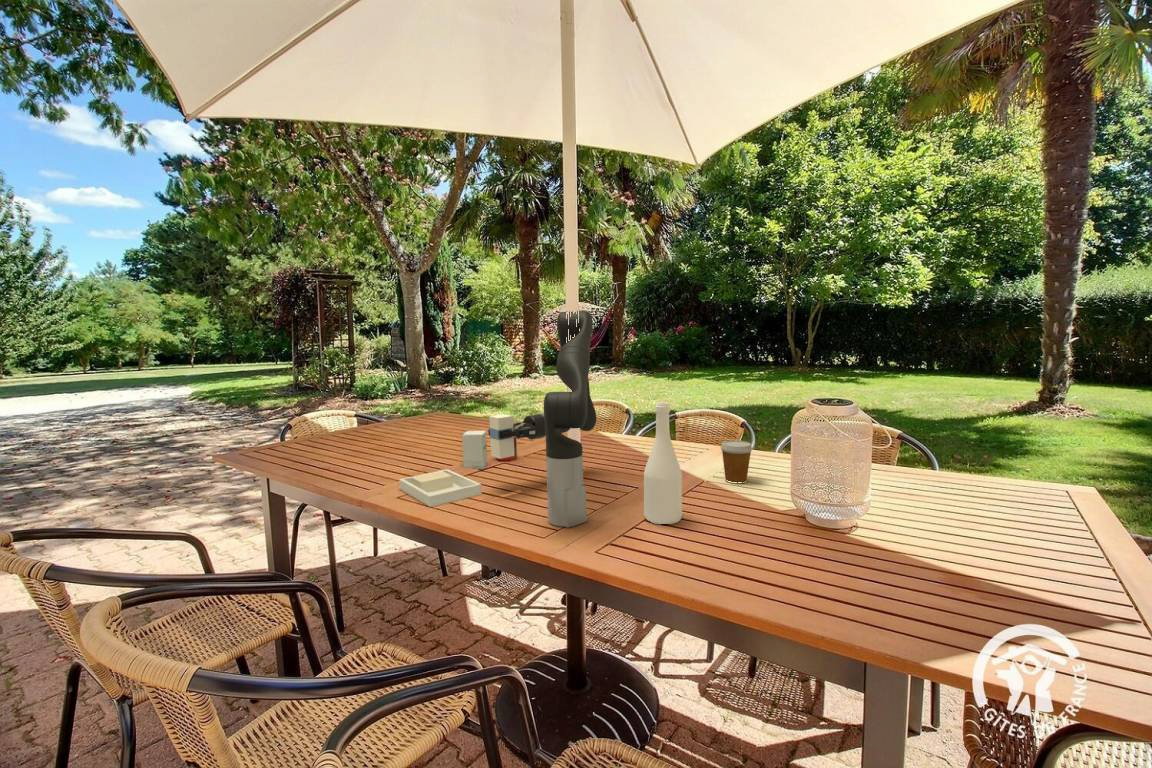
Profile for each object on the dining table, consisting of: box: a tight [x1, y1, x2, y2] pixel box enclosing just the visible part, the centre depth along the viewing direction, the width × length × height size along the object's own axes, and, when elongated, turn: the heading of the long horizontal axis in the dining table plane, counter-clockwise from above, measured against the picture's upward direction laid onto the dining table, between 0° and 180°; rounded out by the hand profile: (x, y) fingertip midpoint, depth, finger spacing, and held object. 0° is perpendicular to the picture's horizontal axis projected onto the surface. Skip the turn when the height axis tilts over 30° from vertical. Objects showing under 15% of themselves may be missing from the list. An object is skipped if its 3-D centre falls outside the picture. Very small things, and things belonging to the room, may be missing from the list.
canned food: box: [495, 437, 518, 462], centre depth 198 cm, size 8×8×11 cm
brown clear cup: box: [720, 439, 753, 483], centre depth 165 cm, size 10×10×12 cm
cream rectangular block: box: [411, 470, 453, 493], centre depth 162 cm, size 7×10×4 cm
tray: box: [398, 469, 483, 508], centre depth 159 cm, size 22×16×4 cm
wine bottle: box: [643, 401, 683, 525], centre depth 134 cm, size 10×10×30 cm
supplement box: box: [461, 430, 488, 470], centre depth 188 cm, size 7×7×13 cm
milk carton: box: [488, 413, 514, 459], centre depth 157 cm, size 5×5×12 cm
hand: (494, 433), depth 155 cm, fingers closed on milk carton, 5 cm apart
